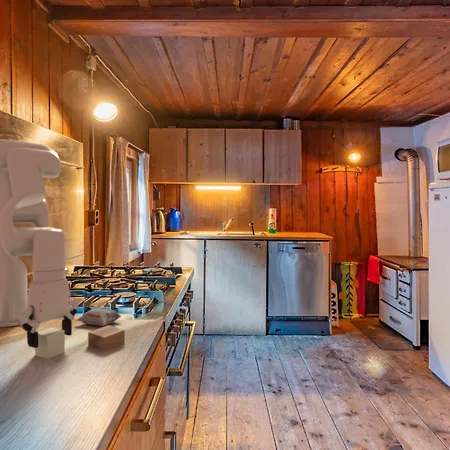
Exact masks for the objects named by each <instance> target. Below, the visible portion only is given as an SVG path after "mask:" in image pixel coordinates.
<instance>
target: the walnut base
mask: <svg viewBox="0 0 450 450" xmlns="http://www.w3.org/2000/svg"><path fill="white" fill-rule="evenodd" d="M125 334H126V332H125V329H123V328H120V327H119V328H118V327H116V326H113V325H109V324H107V325H104V326H101V327H99V328H97V329H93V330H91V331H88V332H87V337H88V338H87V340H88V341H87V342H88V343H87V344H88V345H87V346H89V347H92V348H94V349H98V350H100V351H103V352H106V351H108V350H111V349H113V348H116V347H118V346H120V345H123V344H125V341H126V340H125V339H126V338H125V336H126V335H125Z"/></svg>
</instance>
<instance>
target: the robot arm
mask: <svg viewBox="0 0 450 450" xmlns="http://www.w3.org/2000/svg"><path fill="white" fill-rule="evenodd" d="M61 171H62V163H61V159H60V157H59V155H58V154H57V152H55V151H54V150H53V149H51V147H48V146H46V145H44V144H41V143H35V142H28V141H20V140H14V139H4V138H2V139H1V138H0V328H8V327H17V326H19V327H20V328H21V329H23V330H24V331H25V332H26V340H27V341H26V342H27V346H28V347H29V348H33V349H35V348H37V347H38V332H39V331H37V330H38V328H39V326H40V325H41V324H43V323H46V322H50V321H52V320H56V319H60V318H63V319H62V320H61V330H64V331H65V336H72V334H73V333H72V329H73V320H74V319H75V315H76V314H77V313H78V308H79V305H80V302H79V301H77V300H75V299H71V292H70V286H69V282H68V279H67V278H66V274H68V273H69V269H68V268H66V254H65V253H66V248H65V247H66V242H65V240H66V239H65V238H66V236H65V232H64V231H63V230H62V229H60V228H55V227H51V226H50V210H49V204H48V202H47V200H46V197H47V190H46V186H45V182H44V179H46V178H47V179H48V178H49V179H55V178H58V177H59V176H60V174H61ZM14 224H31V226H25V227H23V226H19V227H18V226H17V227H16V226H14ZM23 256H24V257H25V256H32V278H33V279H32V280H33V281H32V282H30V283H29V287H28V269H27V266H26V265H25V263H24V262H23V261H22V260H21V259H20V258H19V257H23Z"/></svg>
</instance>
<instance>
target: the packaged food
mask: <svg viewBox="0 0 450 450" xmlns="http://www.w3.org/2000/svg"><path fill="white" fill-rule="evenodd" d="M119 318H122V315H121V314H120V313H118V312H117V311H116V310H114V309H109V308H108V309H107V308H103V307H94V308H92V309H90V310H88V311H87V312H85V313H84V314H83V315H82V316H80V317H79V318H76V319H75V322H76V321H77V322H81V323H82V324H85V325H92V326H97V327H105V326H108V325H109V324H112V323H114V322H116V321H117V320H118V319H119Z"/></svg>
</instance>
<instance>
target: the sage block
mask: <svg viewBox="0 0 450 450" xmlns="http://www.w3.org/2000/svg"><path fill="white" fill-rule="evenodd" d="M37 332H38V347H37V348H34V352H35V354H34V355H35V356H37V357H40V358H42V359H45V360H49V359H51V358H54V357H57V356H59V355H61V354H63V353H65V350H66V349H65V346H66V345H65V344H66V343H65V342H66V341H65V338H66V337H65V336H66V335H65V331H64V330H62V328H61V329H60V328H57V327H49V328H48V327H47V328H46V329H45V328H44V329H43V330H40V331H37Z"/></svg>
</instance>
